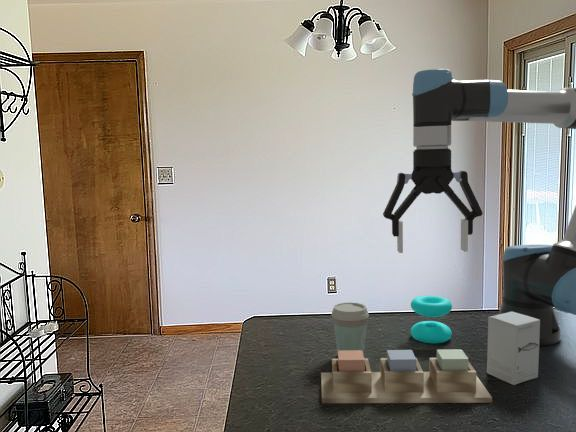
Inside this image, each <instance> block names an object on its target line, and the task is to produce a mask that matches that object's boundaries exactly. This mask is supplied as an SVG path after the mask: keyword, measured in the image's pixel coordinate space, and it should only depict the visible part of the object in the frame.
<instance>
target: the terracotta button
mask: <svg viewBox="0 0 576 432" xmlns="http://www.w3.org/2000/svg"><path fill="white" fill-rule="evenodd" d="M364 355H365V354H363V351H362V350H343V351H338V352H337V359H338V372H355V371H365V359H364V358H365V356H364Z"/></svg>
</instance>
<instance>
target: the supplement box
mask: <svg viewBox="0 0 576 432" xmlns="http://www.w3.org/2000/svg"><path fill="white" fill-rule="evenodd" d="M498 314H499V313H498ZM498 314H496V315H491V316H488V317H487V319H488V321H487V356H486V357H487V358H486V359H487V362H486V374H488V375H491V376H493V377H495V378H497V379H499V380H501V381H504V382H505V383H508V384H510V385H512V386H516V385H518V384H521V383H523V382H526V381H531V380H533V379H537V378H538V377H539V359H540V346H539V337H540V320H539V319H536V318H533V317H530V316H526V315H523V314H519V313H516V312H508V313H503V314H499V315H498Z"/></svg>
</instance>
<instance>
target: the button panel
mask: <svg viewBox="0 0 576 432" xmlns="http://www.w3.org/2000/svg"><path fill="white" fill-rule="evenodd" d="M415 358H416V371H388V368H387V357H380V359H379V360H380V362H379V363H380V371H372V370H371V366H370V363H369V362H370V361H369V358H368V357H367V358H365V357H364V359H365V371H355V372H338V358H331V368H332V369H331V372H330V371H329V372H320V377H321V378H320V379H321V381H320V383H321V384H320V387H321V404H423V403H424V404H432V403H433V404H440V403H441V404H444V403H445V404H449V403H450V404H451V403H452V404H455V403H456V404H457V403H463V404H464V403H466V404H469V403H471V404H473V403H474V404H475V403H477V404H478V403H484V404H485V403H487V404H489V403H493V396H492V395H491V394H490V393H489V391H488V390H487V388H486V387H485V385H484V384H483V383H482V381H481V380H480V378H479V377H478V374H477V371H476V370H475V368H474V367H473V366H472V364H471V363H470V362H469V360H468V371H440V369H439V367H438V365H437V357H429V358H428V362H429V363H428V364H429V365H428V369H429V370H428V371H423V368H422V366H421V364H420V362H419V360H418V357H415Z"/></svg>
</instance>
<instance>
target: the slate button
mask: <svg viewBox="0 0 576 432" xmlns="http://www.w3.org/2000/svg"><path fill="white" fill-rule="evenodd" d="M386 358H387V368H388V371H416V358H417V357H416V356H415V354H414V351H413V350H412V349H386Z"/></svg>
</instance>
